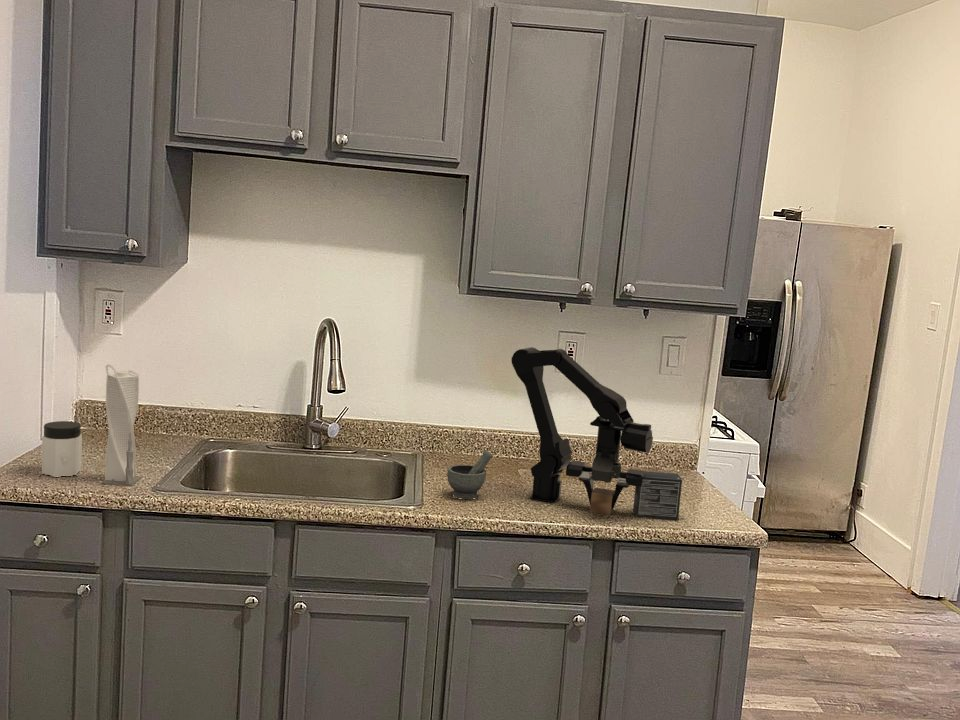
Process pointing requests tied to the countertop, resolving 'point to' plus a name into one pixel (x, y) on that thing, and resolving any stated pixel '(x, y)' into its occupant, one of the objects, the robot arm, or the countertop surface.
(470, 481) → the mortar and pestle
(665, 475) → the small box
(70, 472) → the jar
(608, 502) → the block
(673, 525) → the countertop surface
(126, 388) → the skyscraper
